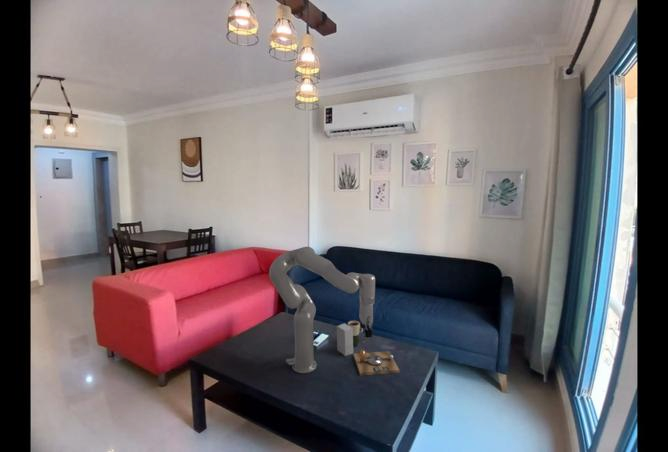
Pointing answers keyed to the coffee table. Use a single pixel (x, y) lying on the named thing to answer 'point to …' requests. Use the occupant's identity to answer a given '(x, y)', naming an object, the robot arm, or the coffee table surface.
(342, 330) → the skincare box
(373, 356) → the cam capstan
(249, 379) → the coffee table surface
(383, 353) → the stand
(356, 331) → the character mug
